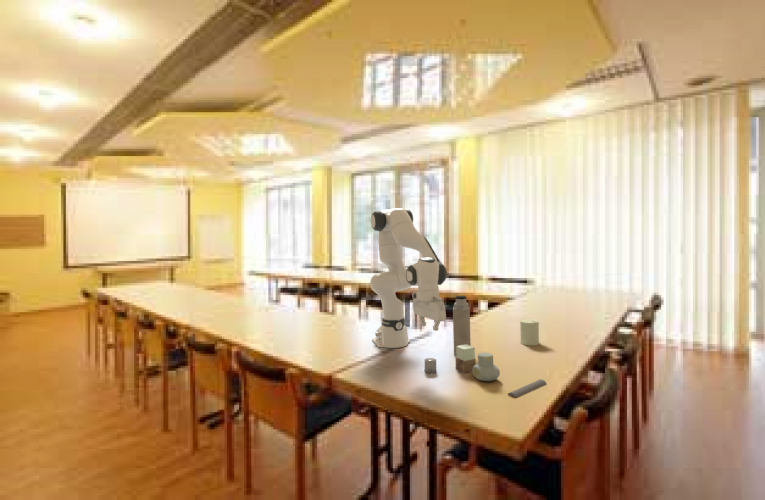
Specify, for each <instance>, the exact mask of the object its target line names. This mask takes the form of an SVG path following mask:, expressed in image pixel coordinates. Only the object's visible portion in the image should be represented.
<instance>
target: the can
mask: <svg viewBox="0 0 765 500" xmlns="http://www.w3.org/2000/svg"><path fill="white" fill-rule="evenodd" d="M519 324H520V327H519V329H520V340H519V342H520V344H522V345H525V346H537V345H538V346H539V345H540V338H539V337H540V336H539V334H540V332H539V331H540V329H539V325H540V322H539V320H537V319H535V318H534V319H533V318H532V319H531V318H522V319H520V320H519Z"/></svg>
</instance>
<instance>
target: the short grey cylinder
mask: <svg viewBox="0 0 765 500" xmlns="http://www.w3.org/2000/svg"><path fill="white" fill-rule="evenodd" d="M424 373H426V374H435V373H437V359H436V358H434V357H427V358H424Z"/></svg>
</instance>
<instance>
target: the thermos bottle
mask: <svg viewBox="0 0 765 500" xmlns="http://www.w3.org/2000/svg"><path fill="white" fill-rule="evenodd" d="M470 314H471V311H470V307H469V303H468V302H467V296H466V295H457V296H455V302H454V304H453V307H452V324H453V325H452V329H453V333H452V334H453V336H452V337H453V354H454V355H455V356H456V346H460V345H465V344H467V345H470V346H472V345H471V315H470Z"/></svg>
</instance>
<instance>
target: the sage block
mask: <svg viewBox="0 0 765 500" xmlns="http://www.w3.org/2000/svg"><path fill="white" fill-rule="evenodd" d="M455 356H456V357H457V358H459V359H461V360H463V361H467V360H472V359H476V358H475V357H476V350H475V346H472V345H471V346H470V345H467V344H465V345H460V346H456V355H455Z"/></svg>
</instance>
